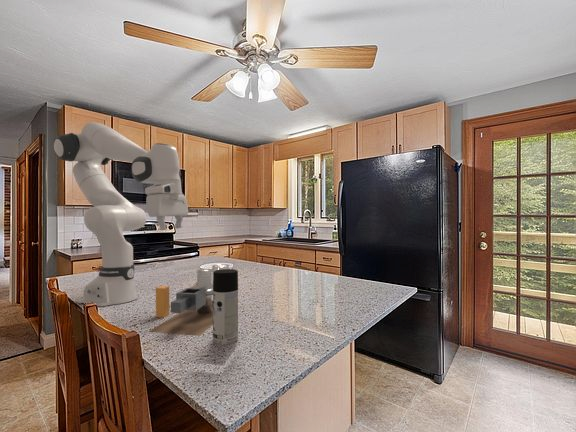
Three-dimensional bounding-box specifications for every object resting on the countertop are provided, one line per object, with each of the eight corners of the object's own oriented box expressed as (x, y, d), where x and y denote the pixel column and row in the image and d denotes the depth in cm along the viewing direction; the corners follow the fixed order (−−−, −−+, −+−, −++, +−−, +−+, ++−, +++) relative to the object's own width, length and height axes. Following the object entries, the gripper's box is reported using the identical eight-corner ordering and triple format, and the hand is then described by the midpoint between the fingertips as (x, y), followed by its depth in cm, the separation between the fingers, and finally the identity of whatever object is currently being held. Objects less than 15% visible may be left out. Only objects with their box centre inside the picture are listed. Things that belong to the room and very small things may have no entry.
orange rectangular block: (156, 321, 98) (155, 288, 98) (161, 318, 101) (161, 285, 101) (164, 321, 97) (163, 288, 97) (169, 318, 100) (169, 286, 100)
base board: (148, 336, 86) (148, 331, 86) (193, 308, 111) (193, 304, 111) (200, 340, 83) (200, 335, 83) (233, 310, 108) (233, 306, 108)
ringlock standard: (158, 330, 86) (158, 281, 86) (197, 305, 109) (197, 266, 109) (193, 333, 84) (193, 282, 84) (225, 307, 107) (225, 267, 107)
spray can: (215, 339, 83) (214, 268, 83) (239, 338, 84) (239, 268, 84) (211, 350, 77) (210, 273, 77) (237, 349, 77) (236, 273, 77)
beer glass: (225, 307, 113) (225, 267, 112) (208, 305, 114) (208, 266, 114) (232, 301, 119) (232, 264, 119) (216, 300, 121) (216, 263, 121)
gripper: (175, 192, 115) (178, 228, 115) (141, 188, 95) (144, 232, 95) (190, 190, 114) (193, 226, 114) (159, 186, 94) (163, 230, 94)
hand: (171, 229), depth 104 cm, fingers open, 8 cm apart
